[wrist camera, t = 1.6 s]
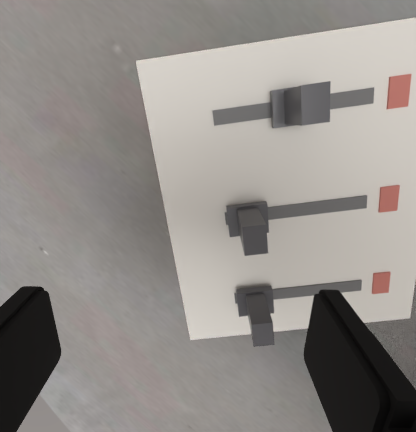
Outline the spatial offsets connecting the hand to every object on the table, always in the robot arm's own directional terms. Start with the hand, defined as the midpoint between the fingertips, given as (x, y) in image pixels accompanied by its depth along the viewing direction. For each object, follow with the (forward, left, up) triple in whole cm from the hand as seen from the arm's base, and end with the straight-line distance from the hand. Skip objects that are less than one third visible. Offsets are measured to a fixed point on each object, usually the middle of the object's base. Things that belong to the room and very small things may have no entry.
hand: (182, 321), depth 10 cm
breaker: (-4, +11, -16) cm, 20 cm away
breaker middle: (-4, +2, -16) cm, 17 cm away
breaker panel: (-9, +2, -19) cm, 21 cm away
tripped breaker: (-9, -7, -16) cm, 19 cm away
